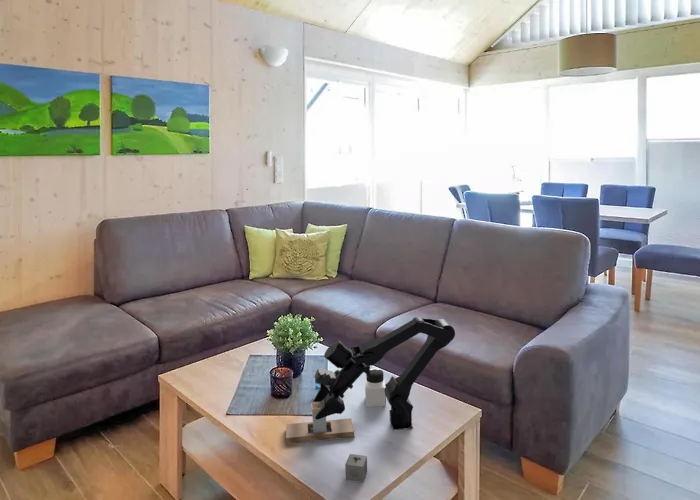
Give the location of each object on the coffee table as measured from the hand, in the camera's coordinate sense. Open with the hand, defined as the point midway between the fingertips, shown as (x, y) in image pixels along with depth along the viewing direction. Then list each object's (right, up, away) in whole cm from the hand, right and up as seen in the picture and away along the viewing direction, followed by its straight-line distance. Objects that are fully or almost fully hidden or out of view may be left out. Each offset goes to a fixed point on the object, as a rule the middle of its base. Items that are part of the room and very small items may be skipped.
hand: (314, 411), depth 168 cm
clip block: (+2, -8, +2) cm, 8 cm away
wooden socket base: (+2, -8, +2) cm, 8 cm away
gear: (+4, -2, +28) cm, 28 cm away
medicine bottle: (+20, -3, +21) cm, 29 cm away
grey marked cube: (+13, -13, -19) cm, 27 cm away
